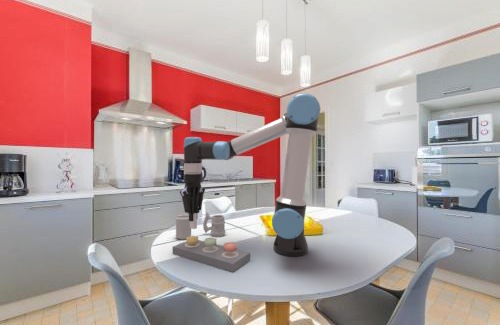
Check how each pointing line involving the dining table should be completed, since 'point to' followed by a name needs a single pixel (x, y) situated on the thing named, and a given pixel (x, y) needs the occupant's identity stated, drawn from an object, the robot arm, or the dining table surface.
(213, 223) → the mug
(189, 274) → the dining table surface
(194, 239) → the button ochre
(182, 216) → the can
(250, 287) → the dining table surface
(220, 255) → the console
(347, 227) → the dining table surface
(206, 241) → the button sage
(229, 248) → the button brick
